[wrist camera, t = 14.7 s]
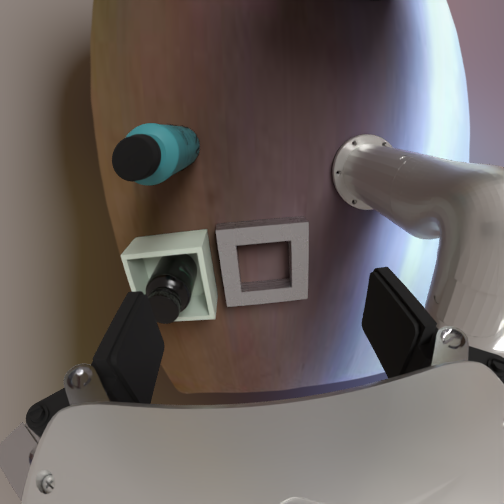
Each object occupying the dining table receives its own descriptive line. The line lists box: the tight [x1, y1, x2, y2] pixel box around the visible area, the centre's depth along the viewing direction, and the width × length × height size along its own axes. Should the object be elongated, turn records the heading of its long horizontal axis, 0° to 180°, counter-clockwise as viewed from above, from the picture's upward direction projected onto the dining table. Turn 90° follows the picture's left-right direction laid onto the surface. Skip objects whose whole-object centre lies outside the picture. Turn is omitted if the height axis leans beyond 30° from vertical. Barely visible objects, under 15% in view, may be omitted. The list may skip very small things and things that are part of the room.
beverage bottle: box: [112, 123, 200, 185], centre depth 28 cm, size 6×7×20 cm
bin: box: [121, 229, 218, 322], centre depth 43 cm, size 13×13×7 cm
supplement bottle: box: [145, 254, 197, 324], centre depth 40 cm, size 7×7×12 cm
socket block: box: [216, 216, 309, 307], centre depth 45 cm, size 14×14×3 cm
